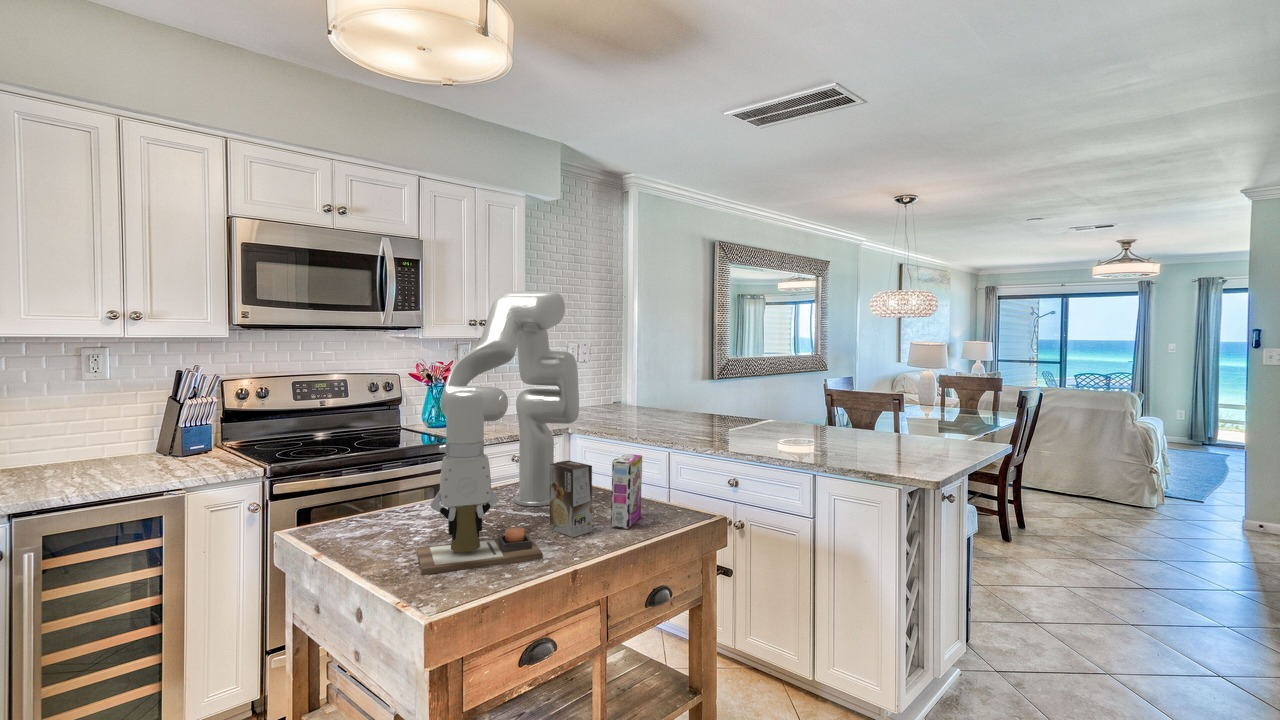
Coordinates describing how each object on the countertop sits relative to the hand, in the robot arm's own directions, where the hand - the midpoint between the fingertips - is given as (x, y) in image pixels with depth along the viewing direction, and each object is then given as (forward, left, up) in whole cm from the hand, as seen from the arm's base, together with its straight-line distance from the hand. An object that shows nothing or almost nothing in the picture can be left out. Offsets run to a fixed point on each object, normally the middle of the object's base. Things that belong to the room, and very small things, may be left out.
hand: (465, 535), depth 132 cm
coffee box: (-9, +26, -5) cm, 28 cm away
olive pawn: (0, 0, -2) cm, 2 cm away
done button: (0, +10, -2) cm, 11 cm away
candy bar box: (-10, +41, -5) cm, 42 cm away
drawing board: (0, +3, -5) cm, 6 cm away
